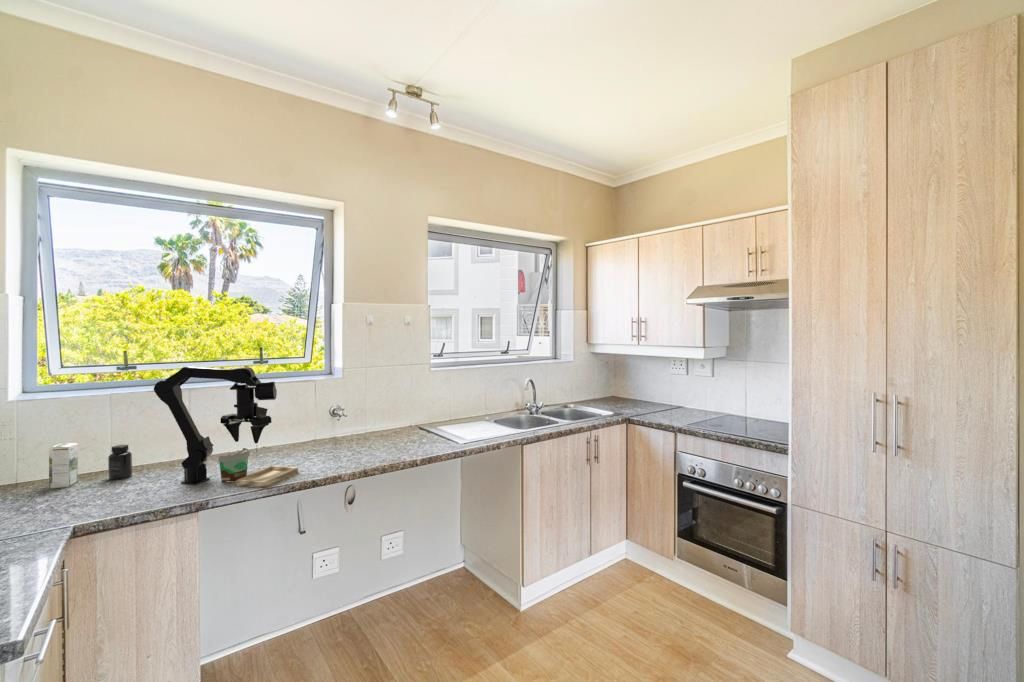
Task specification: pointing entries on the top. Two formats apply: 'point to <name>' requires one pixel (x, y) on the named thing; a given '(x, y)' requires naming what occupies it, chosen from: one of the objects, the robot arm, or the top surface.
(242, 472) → the food container
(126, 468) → the supplement bottle
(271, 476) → the wooden tray
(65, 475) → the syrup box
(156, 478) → the top surface
